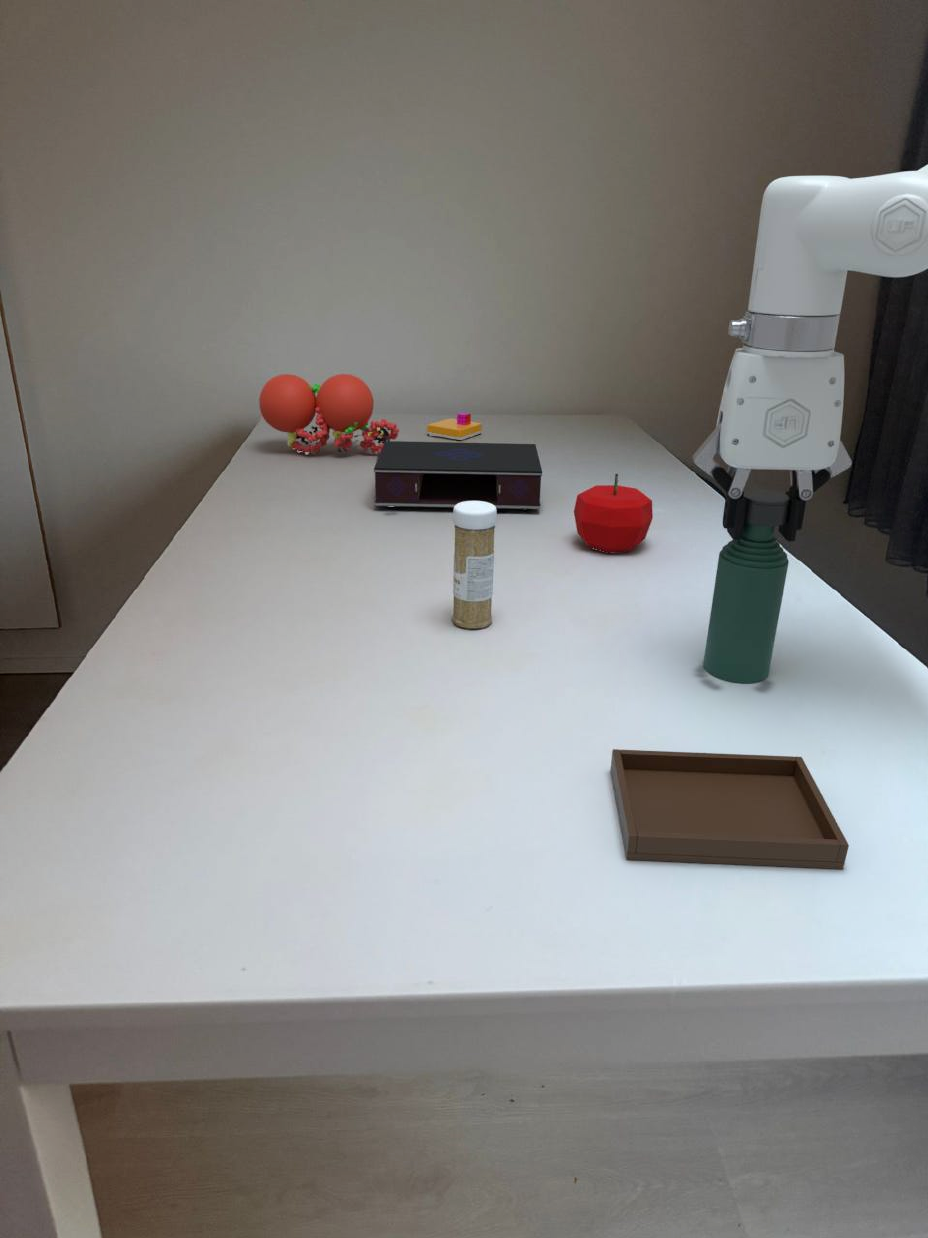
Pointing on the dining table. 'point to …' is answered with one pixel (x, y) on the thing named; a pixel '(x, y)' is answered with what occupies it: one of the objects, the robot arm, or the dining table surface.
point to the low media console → (458, 474)
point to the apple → (613, 517)
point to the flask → (746, 606)
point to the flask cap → (766, 507)
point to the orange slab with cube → (455, 426)
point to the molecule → (323, 411)
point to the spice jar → (473, 563)
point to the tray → (724, 810)
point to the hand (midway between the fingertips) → (760, 534)
